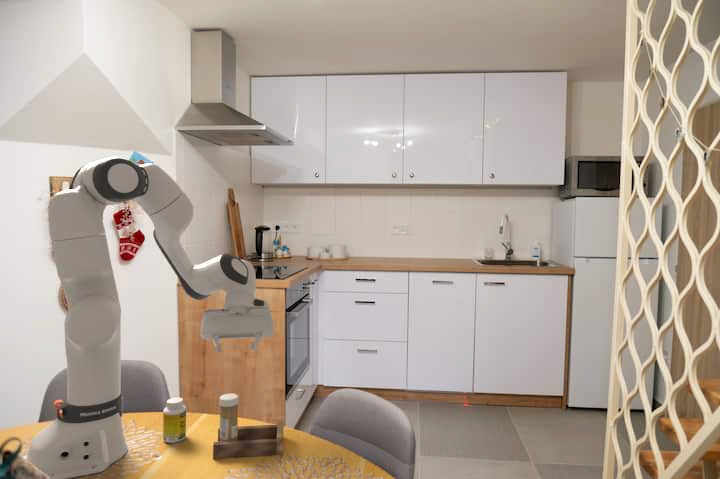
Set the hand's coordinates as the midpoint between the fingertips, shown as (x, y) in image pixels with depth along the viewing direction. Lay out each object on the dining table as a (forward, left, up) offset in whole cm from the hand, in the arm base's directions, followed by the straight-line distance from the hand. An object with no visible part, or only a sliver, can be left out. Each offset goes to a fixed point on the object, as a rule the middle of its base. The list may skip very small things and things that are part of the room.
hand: (236, 350), depth 126 cm
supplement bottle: (-16, +2, -22) cm, 27 cm away
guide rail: (-1, -13, -21) cm, 25 cm away
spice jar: (-6, -11, -22) cm, 25 cm away
